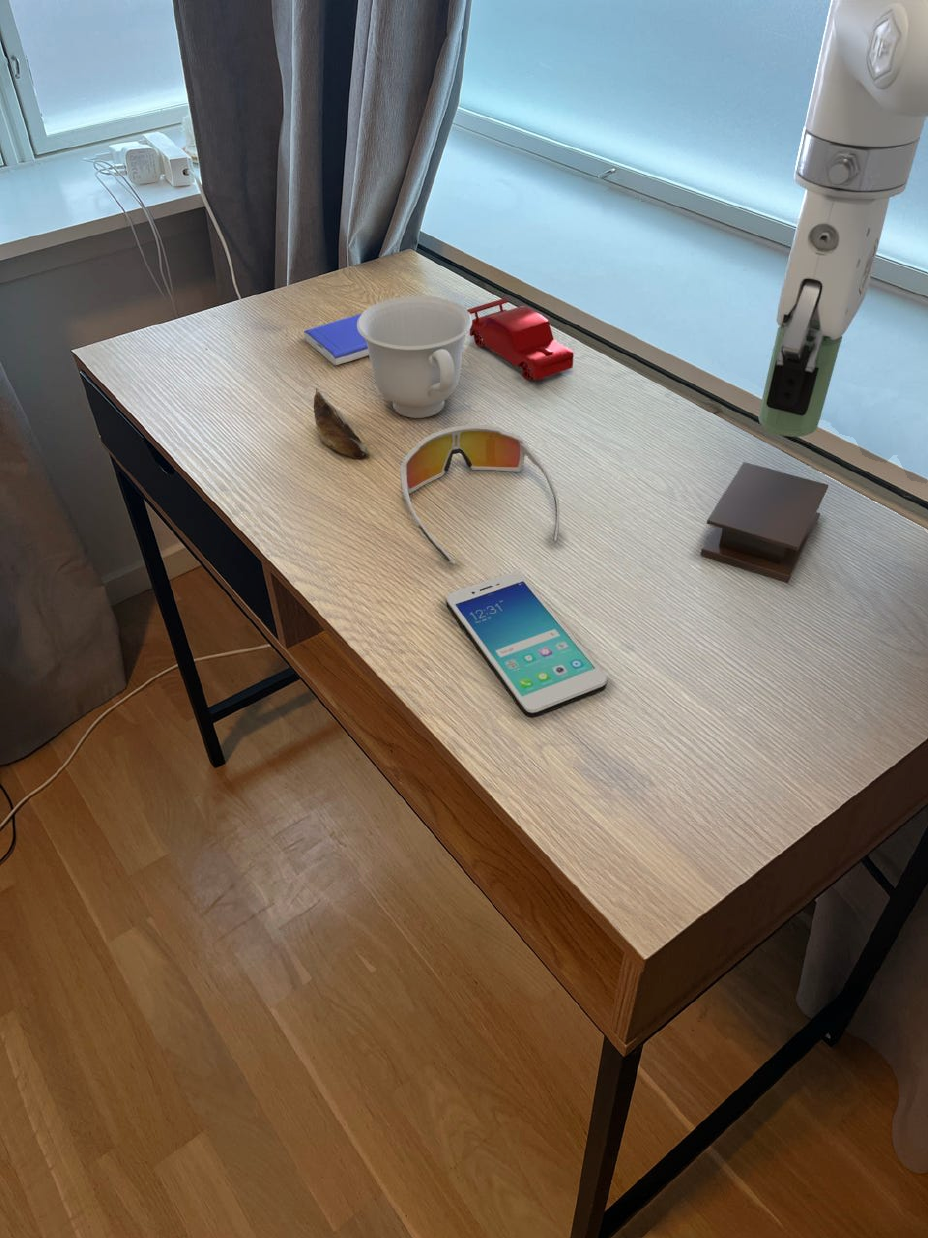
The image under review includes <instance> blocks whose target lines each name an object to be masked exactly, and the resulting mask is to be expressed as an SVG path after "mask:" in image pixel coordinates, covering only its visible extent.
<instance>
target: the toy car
mask: <svg viewBox="0 0 928 1238" xmlns="http://www.w3.org/2000/svg"><path fill="white" fill-rule="evenodd" d="M509 301H510V300H509V299H506V298H505V297H504V298H500V299H498V300H493V301H491V302H488V303H484V304H481V305H477V306H474V307H472V308H469V309H466V310H467V311H468V312H469V314H470V315H472V314H474V316H475V318H474V319H473V318H472V326H471V328H470V330H469V336H470V337H473V340H474V343H475V345H476V346H477V347H478V348H483V347H486V348H488V349H490V351H492V352H494V353H496V354H497V355H498V356H500V357H501V358H502V359H505V360H506V361H507V362H508V363H510V364H511V365H513V366H514V367H516V368H517V369H521V374H522V376H523V378H524V379H525V380H526V381H531V380H535V381H539V380H542V379H545V378H548V377H551V376H554V375H556V374H560V373H561V372H564V371H567V370H570V369H573V367H574V356H575V355H574V352H573V350H571V349H570V348H568V347H567V346H565V345H564V344H562V343H560V342H559V341H557V340H556V339H554V335H553V331H552V328H551V324H550V320H548V319H547V318H546V317H545V316H543V315H542V314H541V313H539V312H537V311H535V310H534V309H532V308H530V307H529V306H525V305H520V306H517V307H515V308H510V309H508V310H507V309H504V307H503V305H504V304H507V303H509ZM497 306H498V307H499V311H495V312H492V313H490V314H486V315H482V316H480V317H479V314H478V312H481V311H485V310H488V309H491V308H495V307H497Z"/></svg>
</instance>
